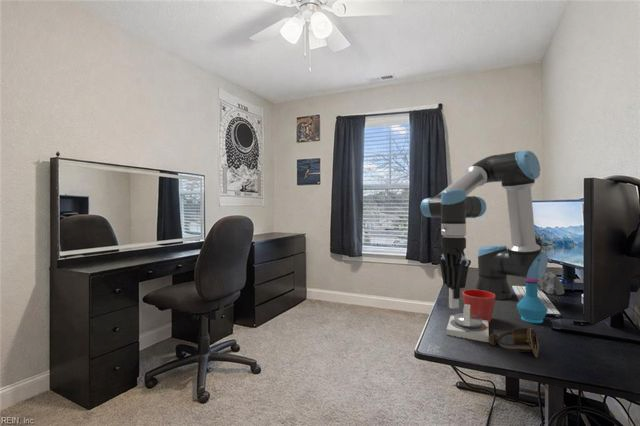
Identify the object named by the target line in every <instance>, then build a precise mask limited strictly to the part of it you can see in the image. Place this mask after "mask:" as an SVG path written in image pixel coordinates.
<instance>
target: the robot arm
mask: <svg viewBox="0 0 640 426" xmlns="http://www.w3.org/2000/svg"><path fill="white" fill-rule="evenodd" d="M540 175H541V165H540V162H539V159H538V157H537V155H536V154H535V153H534V152H532V151H531V150H521V151H520V150H518V151H514V152H508V153H506V152H505V153H501V154H493V155H490V156H486V157H484V158H482V159H480V160H478V161H477V162H475V163H474V164H472V165H470V166H469V167H468V168H467V169H466V170H465V172H464V174H462V175H461V176H460V177H458V178H457V179H456V180H455V181H454V182H452V183H451V184H450V185H448V186H447V187H446V188H445V189H443V190H442V191H441V192H439V193H438V194H437V195H435V196H434V197H428V198H424V199H423V200H422V201H421V202H420V212H421V214H422V215H423V216H424V217H426V218H433V219H434V218H440V219H441V221H440V224H441V225H440V228H441V230H440V231H441V233H440V235H441V236H442V237H440V240H441V242H440V244H441V245H440V247H441V249H443V251H442V254H438V256H437V259H438V261H439V265H440V270H441V277H442V283H443V284H444V285H445V286H446V287H447V296H448V308H450V309H453V310H454V309H460V297H461V295H460V293H461V291H460V290H461V289H465V288H466V284H467V278H468V273H469V267H470V266H471V264H472V261H471V260H470V259H467V258H466V257H465V256H466V253H465V252H464V251H465V249H466V248H467V238H466V237H465V236H467V221H466V220H467V219H470V218H471V219H476V218H480V217H481V216H482V217H483V215H484V214H485V213H486V211H487V203H486V201H485V199H483V198H482V197H480V196H475V195H473V196H468V195H469V194H471V193H472V192H473V191H474V190H475V189H476V188H478V187H482V186H484V185H485V184H488V183H497V182H498V183H501V187H502V188H504V189H505V191H506V200H507V212H508V220H509V222H508V223H509V228H510V229H509V230H510V239H511V240H510V241H511V243H510V245H508V247H507V245H503V244H502V245H501V244H500V245H486V246H480V247H479V248H478V252H477V265H478V266H477V267H478V269H477V272H478V275H477V277H478V278H477V279H476V284H475V285H474V289H473V290H483V291H487V292H491V293H493V294H495V296H496V297H495V300H509V299H512V290H511V288H510V283H509V282H508V276H509V277H510V276H511V277H515V278H516V277H517V278H523V279H525V278H535V279H537V280H539V279H541V278H542V277H543V275H544V274H545V273H546V271H547V267H548V263H549V262H548V261H549V260H548V259H549V258H548V254H547V253H546V252H543V251H542V249H541V246H540V245H539V244H538V243H536V242H537V241H536V231H535V221H534V220H535V219H534V211H533V209H534V208H533V198H532V196H533V195H532V187H533V186H534V185H535V183H536V179H538V178H539V177H540Z"/></svg>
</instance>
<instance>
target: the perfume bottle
mask: <svg viewBox="0 0 640 426" xmlns="http://www.w3.org/2000/svg"><path fill="white" fill-rule="evenodd" d="M523 281H524V283H525V295H524V296H523V297H522V298H521V300H519V301H518V302H517V303H516V308H517V311H518V313H519V315H520V316H521V317H520V318H521V320H522V321H524V322H528V323H532V324H542V323H544V319H545V318H546V316H547V312H548V308H547V306H546V305H545V304H544V303H543V301H542V299H540V298H539V294H538V289H539V288H538V283H537V282H539V279H535V278H523Z"/></svg>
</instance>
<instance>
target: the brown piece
mask: <svg viewBox="0 0 640 426" xmlns="http://www.w3.org/2000/svg"><path fill="white" fill-rule="evenodd" d="M510 335H511V336H512V339H513V343H514V344H504V343H501V340H502V339H503V338H505V337H506V336H510ZM488 343H489V344H490V346H496V344H498V345H499V346H500V347H502V348H504V349H510V350H511V349H512V350H517V351H518V352H520V353H521V352H522V353H533V356H534V357H535V358H538V355H539V350H540V344H539V341H538V339H537V333H536V331H535V330H534V329H533V328H532V327H514V328H513V329H512V331H506V332H503V333H501V334H499V335H498V334H497V333H490V334H489V342H488Z"/></svg>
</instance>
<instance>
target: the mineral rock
mask: <svg viewBox="0 0 640 426" xmlns="http://www.w3.org/2000/svg"><path fill="white" fill-rule="evenodd" d="M538 280H539V282H537V283H538V289H539V290H541V291H543V292H545V293H547V294H549V295H553V296H554V295H555V296H561V295H564V294H565V288H564V285H563V284H562V282H561V280H560V278H559V277H558V276H557V275H555V274H554V273H553V271H548V272H545V273H544V275H543V277H542V278H540V279H538Z"/></svg>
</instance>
